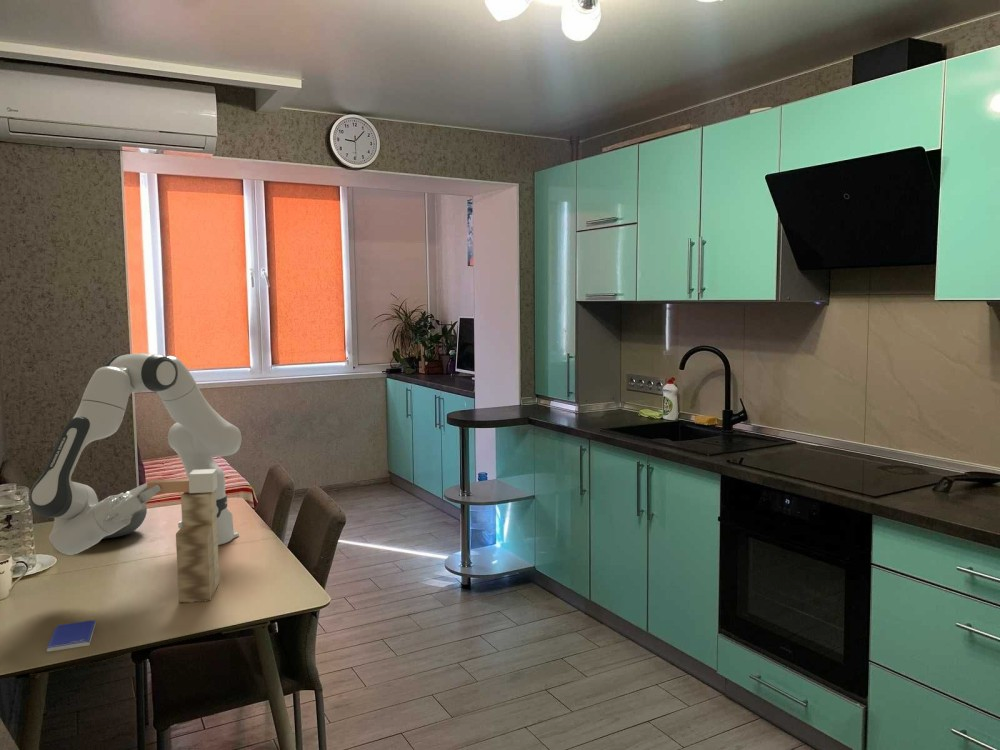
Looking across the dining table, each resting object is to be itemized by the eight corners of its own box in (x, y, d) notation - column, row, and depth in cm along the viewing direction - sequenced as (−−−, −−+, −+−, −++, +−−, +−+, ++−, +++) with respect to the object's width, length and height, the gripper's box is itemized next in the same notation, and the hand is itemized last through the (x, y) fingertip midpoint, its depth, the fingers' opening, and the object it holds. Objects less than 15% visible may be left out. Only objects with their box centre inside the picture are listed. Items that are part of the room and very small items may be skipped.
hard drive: (89, 640, 166) (95, 619, 177) (46, 647, 163) (55, 625, 174) (89, 647, 166) (95, 626, 177) (47, 654, 163) (56, 631, 174)
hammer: (217, 487, 201) (216, 468, 200) (213, 492, 195) (212, 473, 195) (152, 490, 198) (151, 471, 197) (146, 495, 192) (145, 476, 192)
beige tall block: (178, 603, 189) (174, 502, 187) (190, 584, 202) (186, 490, 200) (210, 600, 191) (206, 501, 188) (219, 582, 203) (215, 489, 201)
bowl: (115, 549, 233) (113, 518, 232) (53, 545, 237) (51, 514, 236) (162, 528, 255) (161, 499, 254) (105, 524, 259) (103, 496, 259)
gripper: (93, 514, 183) (144, 484, 185) (119, 493, 203) (164, 466, 205) (108, 534, 184) (158, 504, 186) (132, 512, 204) (178, 485, 206)
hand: (162, 484), depth 196 cm, fingers closed on hammer, 3 cm apart
